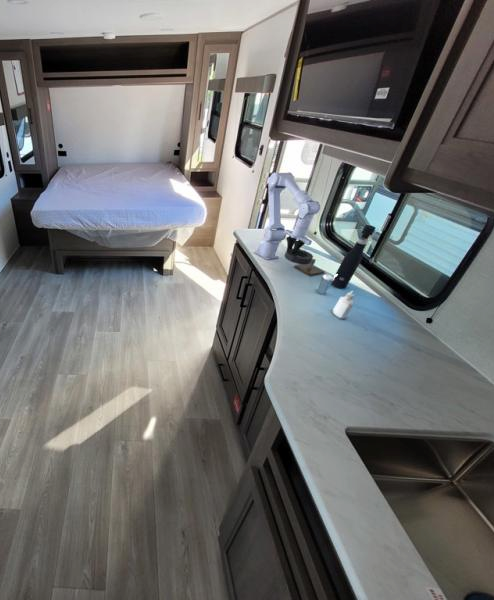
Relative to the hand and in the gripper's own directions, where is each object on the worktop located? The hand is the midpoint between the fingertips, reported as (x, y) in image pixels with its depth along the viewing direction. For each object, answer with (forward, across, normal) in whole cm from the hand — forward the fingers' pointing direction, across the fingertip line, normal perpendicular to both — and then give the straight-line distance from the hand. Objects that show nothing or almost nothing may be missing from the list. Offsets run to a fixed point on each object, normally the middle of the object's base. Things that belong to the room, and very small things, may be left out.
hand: (291, 252), depth 156 cm
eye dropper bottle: (+10, +39, -10) cm, 41 cm away
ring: (+1, +5, 0) cm, 5 cm away
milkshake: (+10, +24, -2) cm, 26 cm away
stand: (+10, +6, +11) cm, 16 cm away
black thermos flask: (+10, +22, +12) cm, 27 cm away
